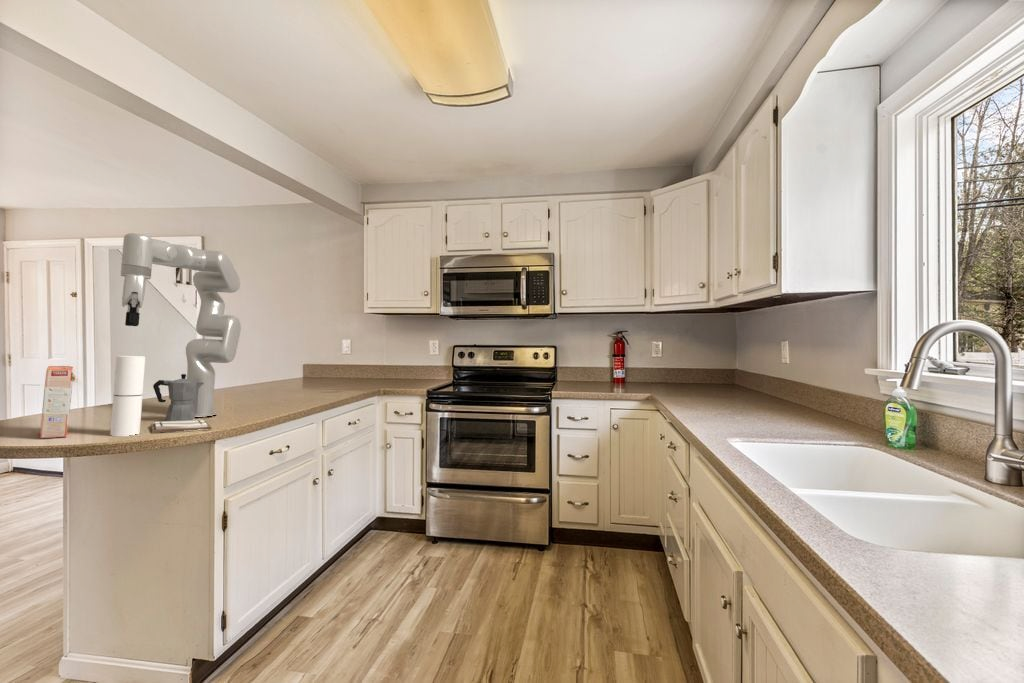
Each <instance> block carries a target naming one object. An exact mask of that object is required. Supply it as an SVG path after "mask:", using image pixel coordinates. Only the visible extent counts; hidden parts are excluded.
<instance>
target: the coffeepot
mask: <svg viewBox="0 0 1024 683" xmlns="http://www.w3.org/2000/svg"><path fill="white" fill-rule="evenodd" d="M180 376H181V378H178V379H175V380H168V379H167V380H164V379H159V380H157V381H156V382H155V383H154V384H153V385H152V387H153V390H154V393H155V396H156V398H157V402H159V403H165V402H166V401H167V400H166V399H163V398H162V393H161V388H160V386H166V387H168V388H167V390H168V398H169V400H170V404H169V405H168V408H167V413H166V415H165V419H164V421H183V420H193V419H195V420H196V418H195V414H194V407H193V404H192V401H193V399H194V397H195V393H196V392H197V390H198V389H199V388H200V387H201V385H203V384H204V383H203V382H199V381H193V380H188V379H187V373H182V374H180Z"/></svg>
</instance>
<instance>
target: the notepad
mask: <svg viewBox="0 0 1024 683" xmlns="http://www.w3.org/2000/svg"><path fill="white" fill-rule="evenodd" d="M150 428H151V429H152V430H151V434H152V433H153V434H161V433H160V432H170V433H174V432H173V431H184V430H198V429H211V430H212V426H211V425H210V424H209V423H208V422H207V421H206V420H204V419H195V420H183V421H165V420H164V421H154V423H150Z"/></svg>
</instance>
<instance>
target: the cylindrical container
mask: <svg viewBox="0 0 1024 683" xmlns="http://www.w3.org/2000/svg"><path fill="white" fill-rule="evenodd" d="M145 367H146V356H140V355H116V356H115V367H114V368H115V370H114V380H113V382H114V383H113V396H112V408H111V420H110V433H109V436H110V435H112V436H111V437H130V436H129V435H133V436H136V435H135V434H138V435H140V434H139V433H141V422H142V420H141V419H142V408H143V394H144V381H145Z"/></svg>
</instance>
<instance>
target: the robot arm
mask: <svg viewBox="0 0 1024 683" xmlns="http://www.w3.org/2000/svg"><path fill="white" fill-rule="evenodd" d="M121 256H122V257H121V266H120V276H121V277H124V278H123V287H122V298H121V307H123V308H125V307H126V306H127V309H126V310H127V311H126V314H125V323H124V325H125V326H128V327H138V326H139V324H140V309H141V308H142V306H143V303H144V301H145V300H144V298H145V292H146V283H147V282H146V281H147V280H151V279H152V267H153V265H157V266H158V265H159V266H164V267H169V268H178V269H184V270H191V271H195V273H194V274H193V276H192V282H193V285H194V287H195V289H196V291H197V293H198V296H199V298H200V308H199V313H198V316H197V320H196V325H195V331H196V333H197V335H200V336H201V337H202V336H203V337H210V338H195V339H192V340H190V341H189V342H188V343H187V344H186V346H185V356H186V363H187V365H186V366H187V369H186V379H188V380H193V381H199V382H203V383H204V384H203V385H201V387H200V388H199V389H198V390H197V392H196V393H195V397H194V399H193V401H192V404H193V407H194V414H195V416H206V415H213V414H216V413H217V414H218V412H216V411H214V410H213V409H214V396H215V381H216V370H215V368H214V367H213V365H212V364H211V363H217V364H227V363H231V362H233V360H234V359H235V357H236V354H237V350H238V346H239V341H240V340H239V339H240V336H241V329H242V327H241V326H242V325H241V322H240V319H239V318H238V317H237V316H235V315H230V314H224V313H225V309H226V308H225V307H226V303H225V301H224V299H223V298H222V297H221V295H220V294H219V293H226V294H227V293H229V294H231V293H236V292H238V291H239V289H240V287H241V280H240V277H239V275H238V273H237V271H236V268H235V266H234V265H233V262H232V261H231V259H230V258H229V256H228V255H227V254H226V253H225V252H224V251H220V250H207V249H199V248H197V247H196V248H195V247H192V246H187V245H182V244H174V243H173V244H172V243H170V242H168V241H165V240H161V239H154V238H152V237H151V236H148V235H146V234H142V233H141V234H140V233H133V232H131V233H126V234H125V235H124V236H123V244H122V254H121ZM196 271H197V272H196ZM211 337H212V338H221V339H212V338H211Z"/></svg>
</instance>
